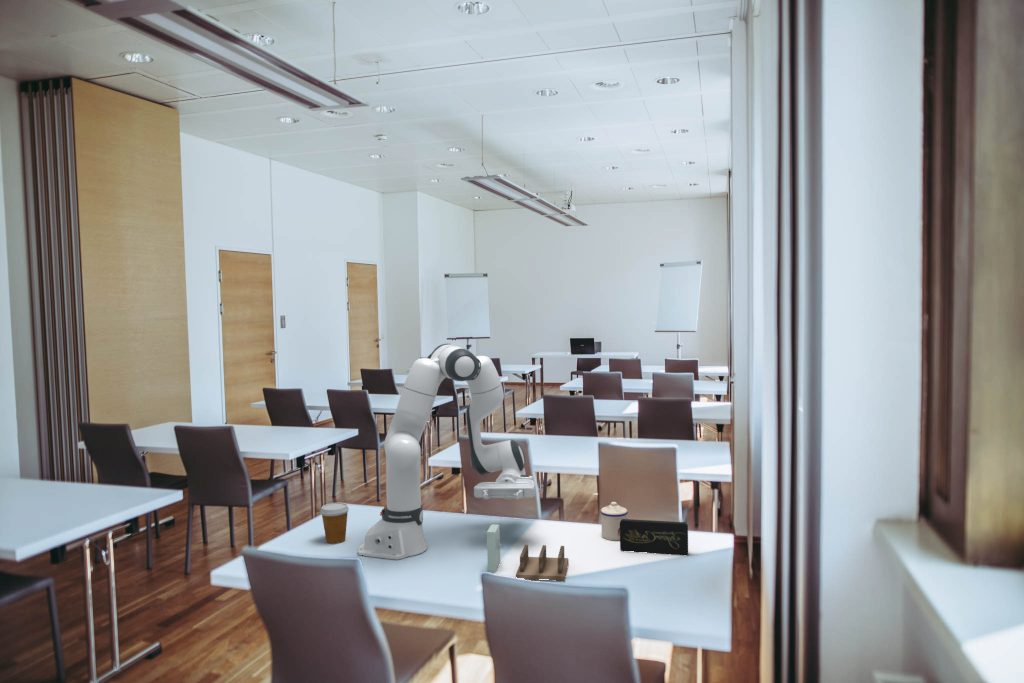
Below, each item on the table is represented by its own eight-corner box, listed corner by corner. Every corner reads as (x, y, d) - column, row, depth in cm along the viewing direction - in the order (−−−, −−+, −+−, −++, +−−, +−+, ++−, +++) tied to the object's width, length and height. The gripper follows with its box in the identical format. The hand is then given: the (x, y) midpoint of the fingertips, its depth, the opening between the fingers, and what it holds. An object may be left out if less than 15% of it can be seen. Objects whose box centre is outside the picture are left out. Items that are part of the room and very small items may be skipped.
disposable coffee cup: (350, 543, 227) (348, 508, 227) (321, 546, 225) (319, 511, 225) (349, 534, 237) (348, 501, 236) (321, 537, 234) (320, 503, 234)
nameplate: (688, 553, 210) (687, 522, 210) (688, 556, 208) (687, 524, 208) (620, 549, 216) (620, 518, 215) (620, 551, 214) (619, 520, 213)
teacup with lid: (622, 542, 221) (621, 507, 221) (596, 538, 226) (596, 504, 225) (634, 531, 232) (634, 498, 231) (610, 528, 236) (609, 495, 236)
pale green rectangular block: (487, 571, 200) (486, 532, 199) (492, 562, 207) (491, 524, 206) (496, 572, 200) (495, 532, 199) (500, 563, 206) (499, 524, 206)
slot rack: (515, 579, 194) (515, 559, 193) (523, 561, 207) (522, 542, 207) (564, 581, 191) (563, 560, 191) (568, 563, 205) (568, 543, 205)
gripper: (477, 476, 230) (468, 487, 216) (537, 476, 226) (531, 487, 212) (478, 494, 230) (469, 506, 216) (538, 494, 226) (532, 506, 213)
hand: (500, 497), depth 214 cm, fingers open, 8 cm apart
